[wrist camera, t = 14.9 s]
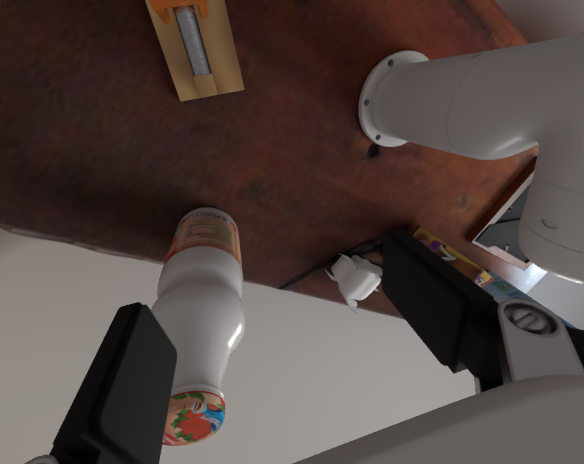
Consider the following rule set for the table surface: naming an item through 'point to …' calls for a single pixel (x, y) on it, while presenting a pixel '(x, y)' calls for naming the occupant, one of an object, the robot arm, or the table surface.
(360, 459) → the robot arm
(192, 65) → the rail stand
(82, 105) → the table surface
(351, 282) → the elephant figurine
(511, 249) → the picture frame
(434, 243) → the candy box
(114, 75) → the table surface
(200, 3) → the clip
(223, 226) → the fruit juice
